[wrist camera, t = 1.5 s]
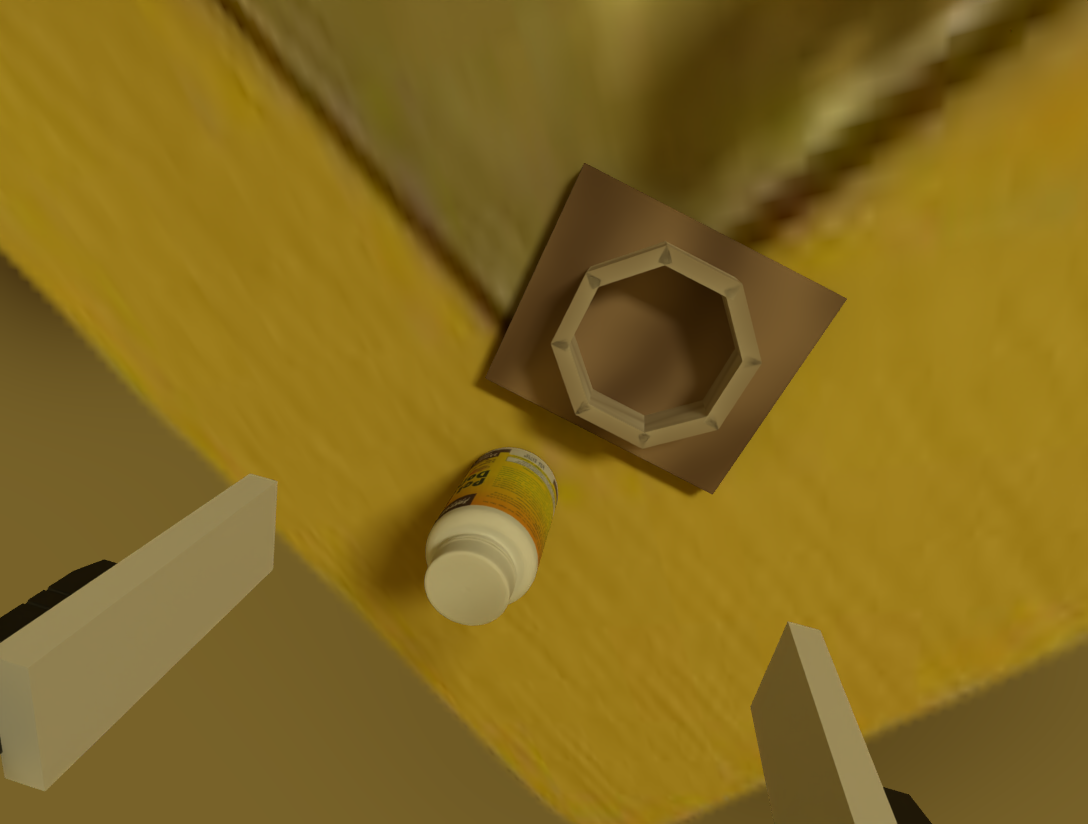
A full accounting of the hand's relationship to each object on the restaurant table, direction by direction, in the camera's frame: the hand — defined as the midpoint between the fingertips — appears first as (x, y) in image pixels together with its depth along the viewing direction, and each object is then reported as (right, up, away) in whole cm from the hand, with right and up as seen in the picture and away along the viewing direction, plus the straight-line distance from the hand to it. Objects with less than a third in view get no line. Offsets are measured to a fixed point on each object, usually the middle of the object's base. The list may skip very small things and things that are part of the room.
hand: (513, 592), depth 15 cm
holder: (+7, +9, +17) cm, 20 cm away
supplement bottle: (-1, 0, +21) cm, 21 cm away
